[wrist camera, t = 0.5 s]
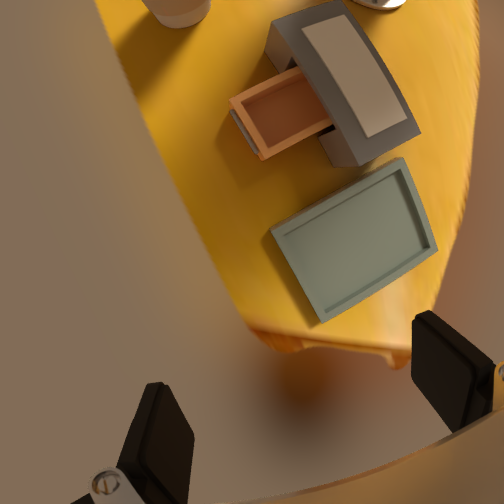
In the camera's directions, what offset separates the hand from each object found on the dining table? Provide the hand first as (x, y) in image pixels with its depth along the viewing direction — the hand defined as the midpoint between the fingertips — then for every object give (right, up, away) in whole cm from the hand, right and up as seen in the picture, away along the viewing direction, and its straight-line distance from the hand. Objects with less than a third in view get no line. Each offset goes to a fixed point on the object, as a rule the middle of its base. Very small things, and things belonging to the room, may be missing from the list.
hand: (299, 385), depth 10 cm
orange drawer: (+3, +21, +22) cm, 31 cm away
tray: (+11, +6, +26) cm, 29 cm away
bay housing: (+7, +23, +22) cm, 32 cm away
